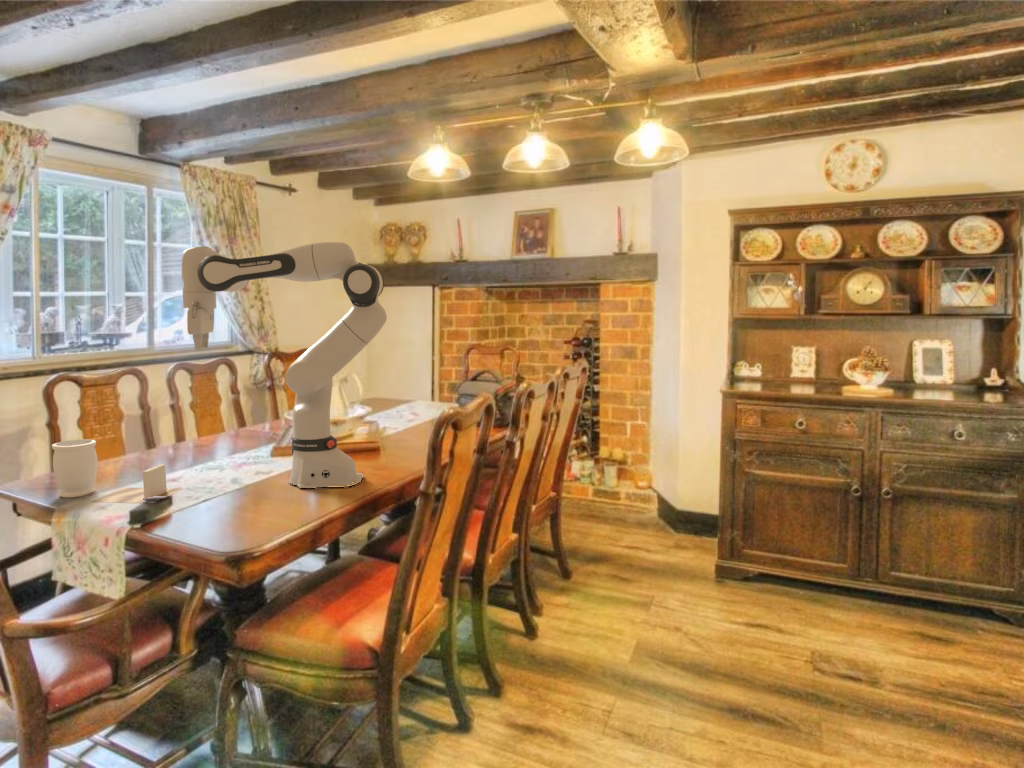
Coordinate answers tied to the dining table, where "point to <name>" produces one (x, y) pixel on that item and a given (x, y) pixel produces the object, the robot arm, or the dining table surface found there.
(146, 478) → the beige flat block
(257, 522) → the dining table surface
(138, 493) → the cork mat
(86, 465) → the jar
